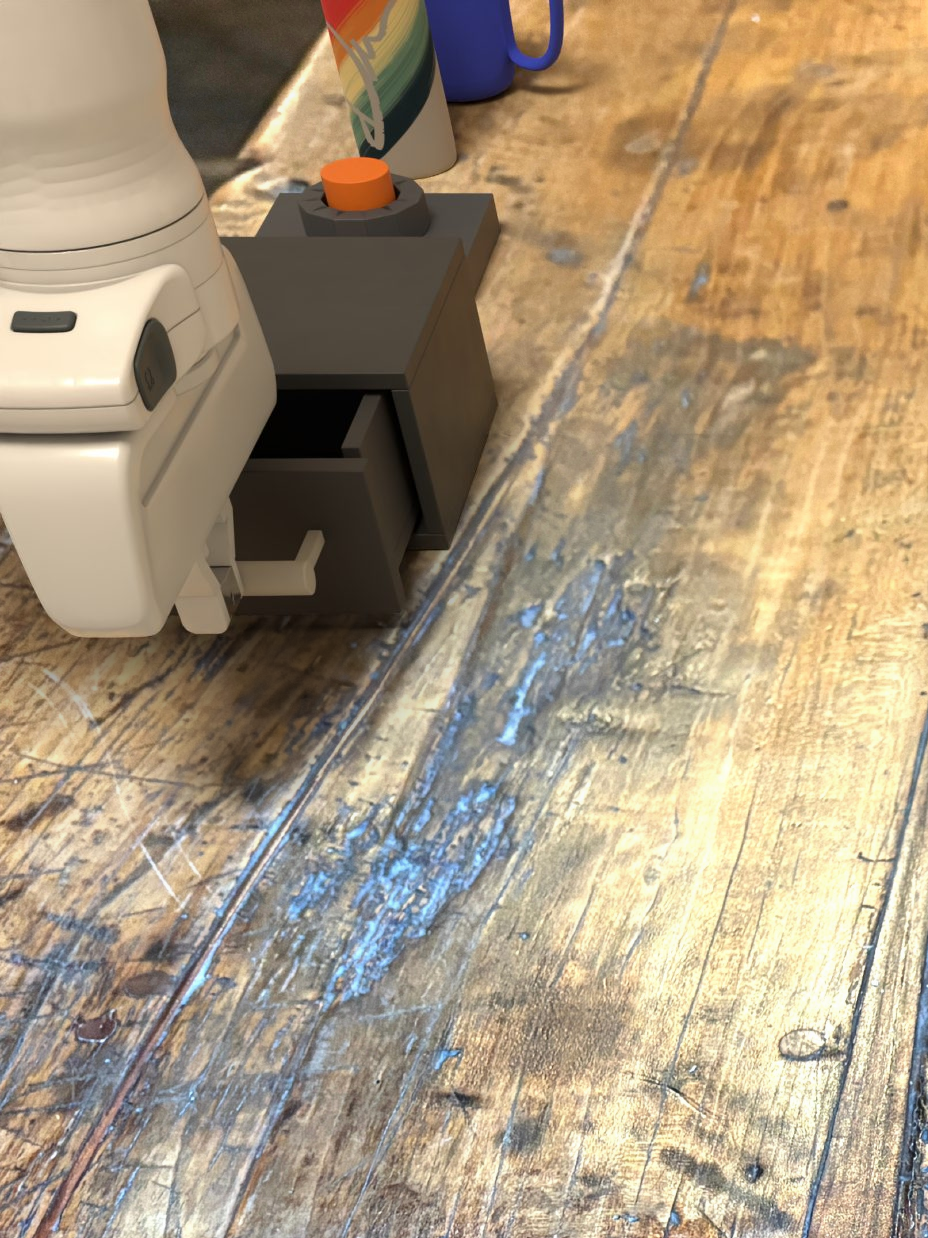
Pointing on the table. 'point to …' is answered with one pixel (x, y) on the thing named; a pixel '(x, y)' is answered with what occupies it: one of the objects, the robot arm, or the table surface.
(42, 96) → the robot arm
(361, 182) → the button
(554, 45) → the mug
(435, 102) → the lotion bottle
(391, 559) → the drawer
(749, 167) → the table surface
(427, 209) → the button block
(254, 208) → the table surface
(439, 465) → the cabinet
